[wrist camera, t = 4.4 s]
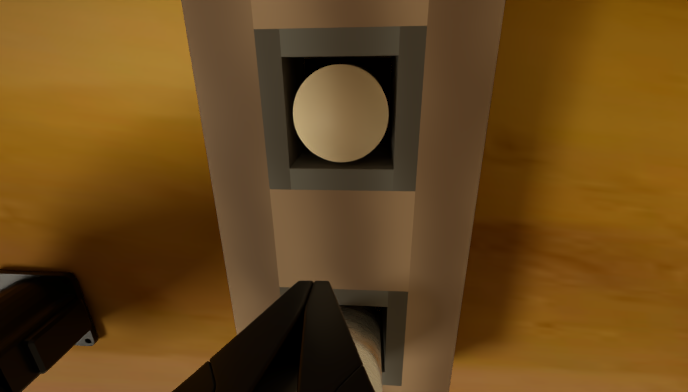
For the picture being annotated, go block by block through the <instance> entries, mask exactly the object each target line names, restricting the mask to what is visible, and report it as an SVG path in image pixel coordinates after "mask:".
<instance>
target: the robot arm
mask: <svg viewBox="0 0 688 392" xmlns="http://www.w3.org/2000/svg"><path fill="white" fill-rule="evenodd" d="M97 341H98V336H97V333H96V330H95V328H94V325H93V322H92V319H91V317H90V314H89V311H88V308H87V306H86V303H85V300H84V297H83V295H82V292H81V289H80V286H79V284H78V281H77V278H76V277H75V276H74V275H73V274H71V273H65V272H36V271H6V270H0V392H22V391H23V390H24V389H25V388H26V387H27V386H28V385H29V384H30V383H31V382H32V381H33V380H34V379H36V378H37V377H38V376H39V375H40V374H43V373H45V372H47V371H48V370H49V369H50V368H51V367H52V366H53V365H54V364H55V363H56V362H57V361H58V360H59V359H60V358H61V357H62V356H64V355H65V354H66V353H67V352H68V351H69V350H70V349H71V348H72V347H73V346H74V345H80V346H93V345H94V344H95V343H96V342H97ZM172 392H375V390H374V388H373V386H372V384H371V382H370V379H369V377H368V374H367V372H366V370H365V367H364V366H363V363H362V360H361V358H360V355H359V353H358V350H357V348H356V345H355V343H354V341H353V338H352V336H351V333H350V331H349V328H348V326H347V323H346V321H345V318H344V316H343V313H342V311H341V309H340V306H339V304H338V301H337V299H336V296H335V294H334V291H333V289H332V286H331V284H330V282H329V281H315V282H313V281H308V280H300V281H298V282H296V283H295V284H294V285H293V286H292V287H291V288H290V289H288V290H287V291H286V292H285V293H284V294H283V295H282V296H281V297H279V298H278V299H277V300H276V301H275V302H274V303H273V304H272V305H270V306H269V307H268V308H267V309H266V310H265V311H264V312H263V313H261V314H260V315H259V316H258V317H257V318H256V319H255V320H253V321H252V322H251V323H250V324H249V325H248V326H247V327H246V328H244V329H243V330H242V331H241V332H240V333H239V334H238V335H237V336H235V337H234V338H233V339H232V340H231V341H230V342H229V343H228V344H226V345H225V346H224V347H223V348H222V349H221V350H220V351H219V352H217V353H216V354H215V355H214V356H213V357H212V358H211V359H210V362H209V361H207V362H206V363H205V364H204V365H203V366H201V367H200V368H199V369H198V370H197V371H196V372H195V373H194V374H192V375H191V376H190V377H189V378H188V379H186V380H185V381H184V382H183V383H182V384H181V385H179V386H178V387H177V388H176V389H175V390H173V391H172Z"/></svg>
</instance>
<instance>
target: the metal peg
mask: <svg viewBox="0 0 688 392" xmlns="http://www.w3.org/2000/svg"><path fill="white" fill-rule="evenodd" d="M339 306H340V309H341V311H342V313H343V316H344V318H345V321H346V323H347V326H348V328H349V331H350V333H351V336H352V338H353V341H354V343H355V345H356V348H357V350H358V353H359V355H360V358H361V360H362V363H363V366H364V367H365V370H366V372H367V374H368V377H369V379H370V382H371V384H372V386H373V388H374V390H375V392H382V369H381V342H380V319H379V315H378V313H377V311H376V309H375V308H374V307H373V306H353V305H339Z"/></svg>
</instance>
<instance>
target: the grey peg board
mask: <svg viewBox="0 0 688 392" xmlns="http://www.w3.org/2000/svg"><path fill="white" fill-rule="evenodd" d="M181 2H182V8H183V14H184V20H185V26H186V32H187V38H188V44H189V50H190V56H191V62H192V68H193V74H194V80H195V86H196V92H197V98H198V104H199V110H200V116H201V122H202V128H203V134H204V140H205V146H206V152H207V158H208V164H209V170H210V176H211V182H212V188H213V194H214V200H215V206H216V212H217V218H218V224H219V230H220V236H221V242H222V248H223V254H224V260H225V266H226V272H227V278H228V284H229V290H230V296H231V302H232V308H233V314H234V320H235V326H236V332H237V335H238V334H239V333H240V332H241V331H242V330H243V329H244V328H246V327H247V326H248V325H249V324H250V323H251V322H252V321H253V320H255V319H256V318H257V317H258V316H259V315H260V314H261V313H263V312H264V311H265V310H266V309H267V308H268V307H269V306H270V305H272V304H273V303H274V302H275V301H276V300H277V299H278V298H279V297H281V296H282V295H283V294H284V293H285V292H286V291H287V290H288V289H290V288H291V287H292V286H293V285H294V284H295V283H296V282H298V281H300V280H308V281H313V282H315V281H329V282H330V284H331V286H332V289H333V291H334V294H335V296H336V299H337V301H338V304H339V305H353V306H379V307H382V312H377V313H378V315H379V319H380V342H381V369H382V392H449V387H450V380H451V374H452V367H453V360H454V353H455V346H456V339H457V332H458V325H459V318H460V311H461V304H462V297H463V290H464V284H465V277H466V270H467V263H468V256H469V249H470V242H471V235H472V228H473V221H474V214H475V207H476V200H477V194H478V187H479V180H480V173H481V166H482V159H483V152H484V145H485V138H486V131H487V124H488V117H489V110H490V104H491V97H492V90H493V83H494V76H495V69H496V62H497V55H498V48H499V41H500V34H501V27H502V21H503V14H504V7H505V0H181ZM361 57H391V76H390V103H389V131H388V144H378V145H377V146H376V147H375V148H374V149H373V150H372V151H371V152H370V153H369V154H367V155H365V156H364V157H362V158H360V159H357V160H354V161H349V162H333V161H329V160H326V159H323V158H321V157H319V156H317V155H316V154H314V153H313V152H311V151H310V150H309V149H308V148H307V147H306V146H305V145H304V143H303V142H302V141H301V139H300V137H299V136H298V134H297V131H296V129H295V125H294V120H293V105H294V100H295V97H296V94H297V92H298V90H299V88H300V86H301V85H302V83H303V82H304V81H305V63H304V58H361Z"/></svg>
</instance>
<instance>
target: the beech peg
mask: <svg viewBox="0 0 688 392" xmlns="http://www.w3.org/2000/svg"><path fill="white" fill-rule="evenodd" d="M388 117H389V111H388V103H387V100H386V96H385V94H384V92H383V90H382V88H381V85H380V83H379V82H378V80H377V79H376V77H375V76H374V75H373V74H372V73H371V72H370V71H368V70H367V69H365V68H363V67H361V66H358V65H354V64H337V65H330V66H326V67H323V68H321V69H319V70H317V71H315V72H314V73H312V74H311V75H310V76H309V77H308V78H307V79H306V80H305V81H304V82H303V83H302V85H301V86H300V88H299V90H298V92H297V94H296V97H295V100H294V105H293V120H294V125H295V129H296V131H297V134H298V136H299V137H300V139H301V141H302V142H303V143H304V145H305V146H306V147H307V148H308V149H309V150H310V151H311V152H313V153H314V154H316V155H317V156H319V157H321V158H323V159H326V160H329V161H333V162H349V161H354V160H357V159H360V158H362V157H364V156H365V155H367V154H369V153H370V152H371V151H372V150H373V149H374V148H375V147H376V146H377V145H378V144H379V142H380V141H381V140H382V138H383V136H384V134H385V131H386V128H387V124H388Z"/></svg>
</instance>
